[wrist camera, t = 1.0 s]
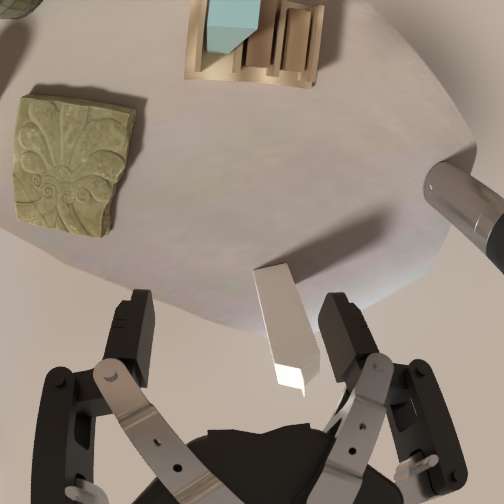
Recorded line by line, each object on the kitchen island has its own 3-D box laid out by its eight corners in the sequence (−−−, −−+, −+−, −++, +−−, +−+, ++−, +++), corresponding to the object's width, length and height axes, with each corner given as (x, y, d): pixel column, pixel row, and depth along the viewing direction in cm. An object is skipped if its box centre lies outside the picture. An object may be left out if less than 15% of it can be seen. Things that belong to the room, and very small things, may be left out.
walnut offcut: (267, 11, 26) (276, 3, 22) (261, 68, 31) (269, 67, 27) (247, 9, 26) (253, 0, 22) (240, 66, 30) (246, 65, 26)
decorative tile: (22, 212, 37) (12, 223, 34) (29, 92, 27) (15, 96, 24) (118, 234, 43) (113, 247, 40) (143, 108, 33) (136, 112, 30)
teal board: (231, 18, 26) (266, -47, 9) (228, 54, 29) (257, 29, 11) (210, 17, 26) (217, -51, 8) (207, 53, 29) (207, 25, 11)
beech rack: (318, 9, 27) (336, 1, 22) (308, 88, 34) (325, 92, 29) (192, -5, 24) (190, -18, 19) (184, 79, 31) (180, 80, 26)
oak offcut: (300, 16, 27) (311, 11, 24) (294, 72, 31) (303, 72, 28) (281, 13, 26) (289, 7, 23) (274, 69, 31) (282, 69, 28)
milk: (286, 262, 50) (328, 371, 32) (289, 287, 54) (326, 392, 36) (251, 270, 50) (279, 384, 32) (257, 295, 53) (283, 403, 36)
